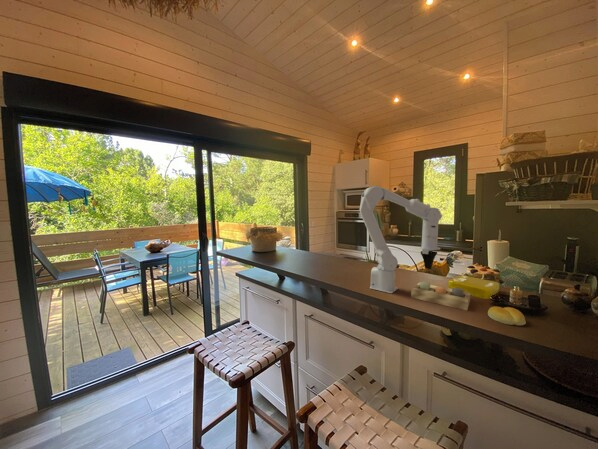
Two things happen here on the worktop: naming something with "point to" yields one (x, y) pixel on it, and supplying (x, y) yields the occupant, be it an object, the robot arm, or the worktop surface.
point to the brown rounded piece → (440, 290)
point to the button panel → (441, 297)
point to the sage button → (425, 286)
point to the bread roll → (507, 315)
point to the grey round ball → (458, 292)
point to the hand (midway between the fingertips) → (428, 268)
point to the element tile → (475, 286)
